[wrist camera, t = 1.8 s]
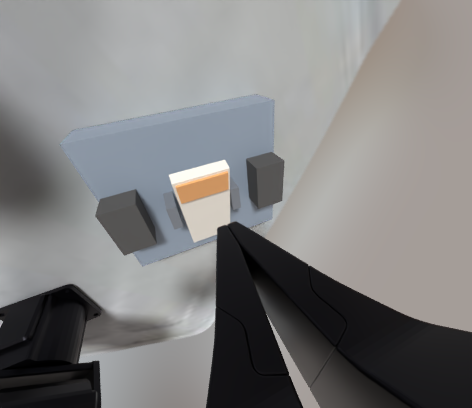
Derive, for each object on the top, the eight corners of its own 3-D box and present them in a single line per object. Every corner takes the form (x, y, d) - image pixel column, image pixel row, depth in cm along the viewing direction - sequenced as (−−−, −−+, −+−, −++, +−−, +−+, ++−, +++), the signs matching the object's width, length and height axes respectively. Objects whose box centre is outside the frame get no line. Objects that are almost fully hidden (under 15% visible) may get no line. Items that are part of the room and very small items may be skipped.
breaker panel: (259, 204, 24) (283, 231, 20) (141, 244, 21) (142, 286, 17) (256, 94, 17) (291, 105, 13) (72, 130, 14) (45, 159, 10)
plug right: (271, 189, 19) (282, 200, 18) (248, 197, 19) (258, 209, 17) (271, 151, 17) (284, 160, 15) (245, 158, 16) (256, 168, 15)
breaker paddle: (227, 222, 19) (230, 230, 18) (191, 235, 18) (194, 244, 18) (224, 159, 12) (230, 169, 12) (168, 174, 12) (172, 186, 11)
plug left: (155, 227, 17) (156, 244, 15) (125, 237, 16) (124, 255, 15) (135, 189, 14) (135, 204, 13) (100, 199, 14) (95, 216, 12)
